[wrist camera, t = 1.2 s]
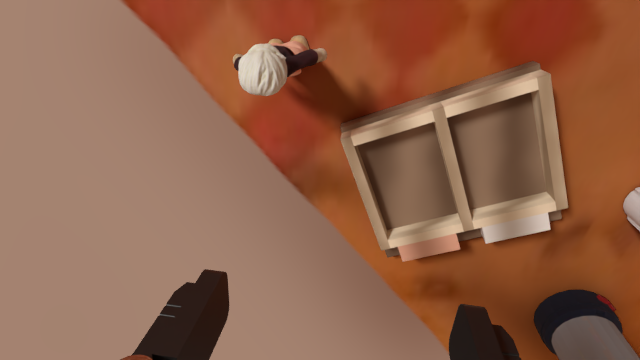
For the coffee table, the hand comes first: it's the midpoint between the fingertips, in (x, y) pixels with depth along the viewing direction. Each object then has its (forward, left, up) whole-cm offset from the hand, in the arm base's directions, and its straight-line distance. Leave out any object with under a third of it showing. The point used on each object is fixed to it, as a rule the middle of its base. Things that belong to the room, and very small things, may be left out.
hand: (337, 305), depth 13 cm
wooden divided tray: (-7, +9, -27) cm, 29 cm away
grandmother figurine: (+4, -7, -27) cm, 28 cm away
